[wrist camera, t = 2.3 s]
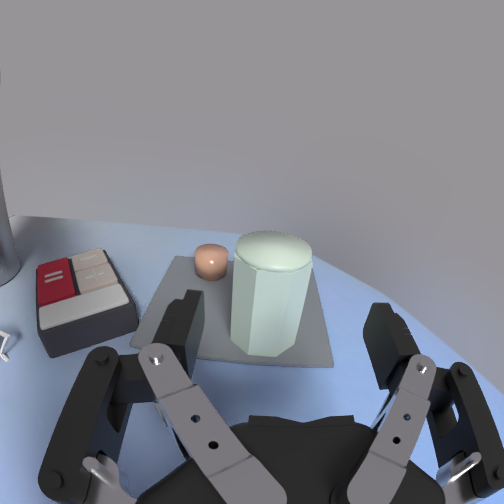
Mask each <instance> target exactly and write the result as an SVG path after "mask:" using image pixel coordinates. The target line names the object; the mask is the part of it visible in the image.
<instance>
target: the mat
mask: <svg viewBox="0 0 504 504" xmlns="http://www.w3.org/2000/svg"><path fill="white" fill-rule="evenodd" d="M233 271H234V261H228V264H227V272H226V274H225V275H224V276H222V277H221V278H220V279H219V280H216V281H207V280H204V279H202V278H201V277H200V276H199V275H198V274H197V273H196V272H195V258H194V257H184V256H175V257H174V259H173V261H172V263H171V265H170V266H169V268H168V270H167V272H166V274H165V276H164V278H163V279H162V281H161V283H160V285H159V287H158V289H157V291H156V293H155V295H154V296H153V298H152V300H151V302H150V304H149V306H148V308H147V310H146V312H145V314H144V316H143V318H142V320H141V322H140V324H139V326H138V328H137V330H136V332H135V334H134V336H133V338H132V340H131V342H130V347H134V348H139V349H142V348H144V347H145V346H147V345H149V344H151V343H152V341H153V338H154V336H155V334H156V331H157V329H158V327H159V324H160V322H161V321H162V318H163V315H164V314H165V311H166V309H167V306H168V305H169V304H170V303H171V302H172V301H173V300H174V299H183V298H184V296H185V293H186V291H187V289H192V290H201V291H204V306H205V324H204V330H203V334H202V338H201V341H200V345H199V349H198V353H197V357H196V358H200V359H207V360H216V361H224V362H234V363H244V364H256V365H271V366H289V367H322V368H333V366H334V362H333V357H332V352H331V347H330V342H329V338H328V333H327V328H326V324H325V319H324V315H323V310H322V306H321V302H320V297H319V293H318V289H317V285H316V281H315V277H314V272H313V268H312V269H311V274H310V279H309V283H308V288H307V293H306V297H305V301H304V306H303V310H302V314H301V318H300V323H299V327H298V331H297V335H296V339H295V343H294V345H292V346H291V347H289V348H288V349H287V350H285V351H284V352H282V353H281V354H279V355H278V356H277V357H269V356H256V355H248V354H247V353H245V352H244V351H243V350H242V349H241V348H240V347H239V346H237V345H236V344H235V343H234V342H233V341H232V340H231V339H230V335H231V312H232V291H233Z"/></svg>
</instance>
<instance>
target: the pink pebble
mask: <svg viewBox="0 0 504 504" xmlns="http://www.w3.org/2000/svg"><path fill="white" fill-rule="evenodd" d="M227 264H228V250H227V249H226V248H225V247H223V246H220V245H217V244H205V245H201V246H199V247H197V248H196V250H195V272H196V273H197V274H198V275H199V276H200V277H201V278H202V279H204V280H207V281H216V280H219V279H220V278H221V277H222V276H224V275H225V274H226V272H227Z"/></svg>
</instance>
